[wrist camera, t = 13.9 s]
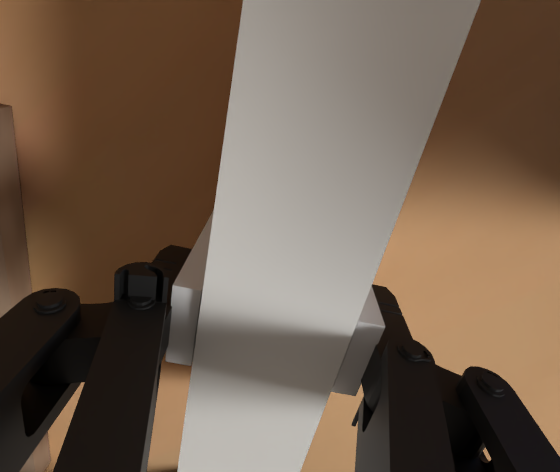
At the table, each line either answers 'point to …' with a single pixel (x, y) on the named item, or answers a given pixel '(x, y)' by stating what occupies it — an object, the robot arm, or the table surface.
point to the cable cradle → (14, 250)
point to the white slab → (306, 210)
